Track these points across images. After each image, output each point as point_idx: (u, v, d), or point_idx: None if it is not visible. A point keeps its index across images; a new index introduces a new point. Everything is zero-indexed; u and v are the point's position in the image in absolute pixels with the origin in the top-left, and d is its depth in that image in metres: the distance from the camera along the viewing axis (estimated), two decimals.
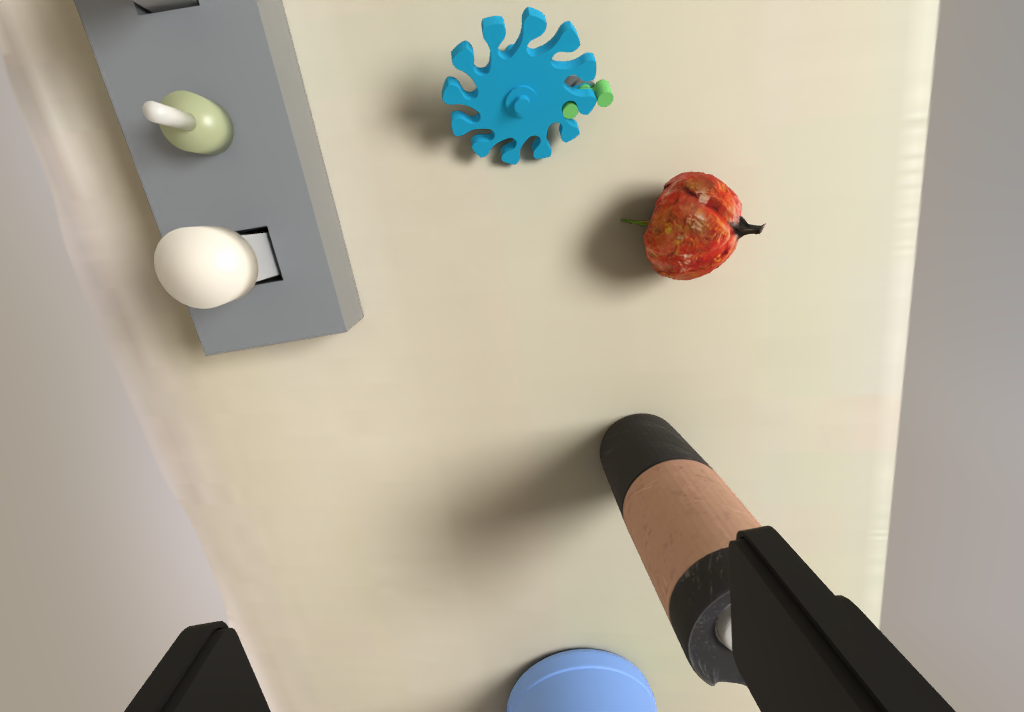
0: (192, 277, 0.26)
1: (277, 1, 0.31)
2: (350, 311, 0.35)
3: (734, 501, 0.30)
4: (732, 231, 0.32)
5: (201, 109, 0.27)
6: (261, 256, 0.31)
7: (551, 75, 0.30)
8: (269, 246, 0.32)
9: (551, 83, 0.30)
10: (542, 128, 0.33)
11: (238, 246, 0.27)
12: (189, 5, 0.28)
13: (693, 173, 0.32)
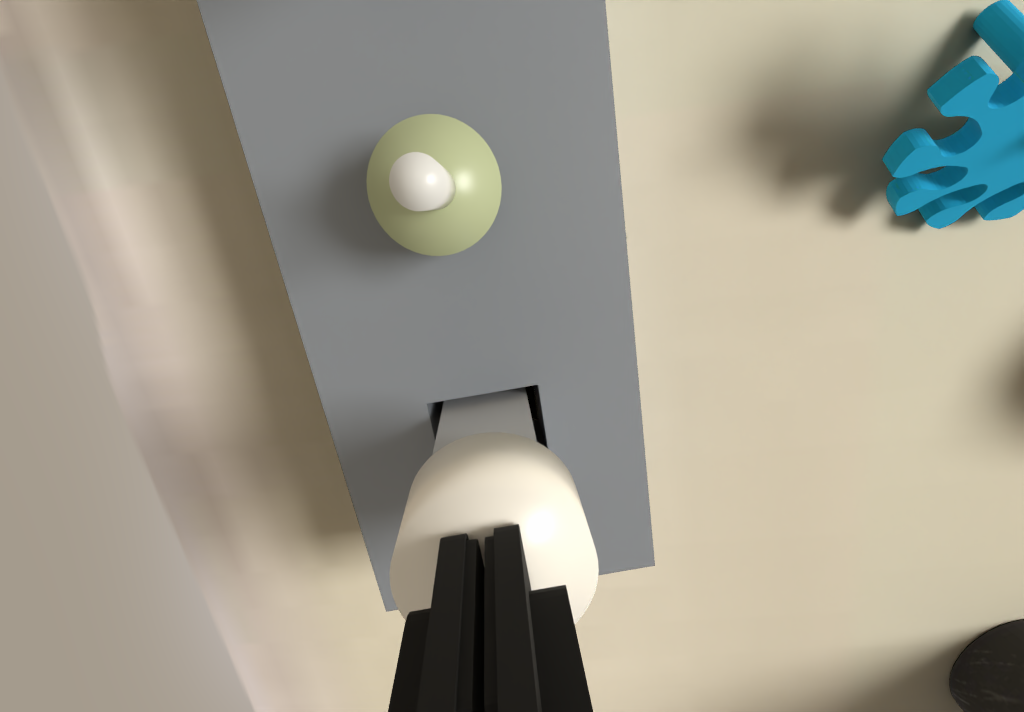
0: None
1: None
2: None
3: None
4: None
5: (471, 159, 0.11)
6: None
7: None
8: None
9: None
10: None
11: (578, 500, 0.11)
12: None
13: None
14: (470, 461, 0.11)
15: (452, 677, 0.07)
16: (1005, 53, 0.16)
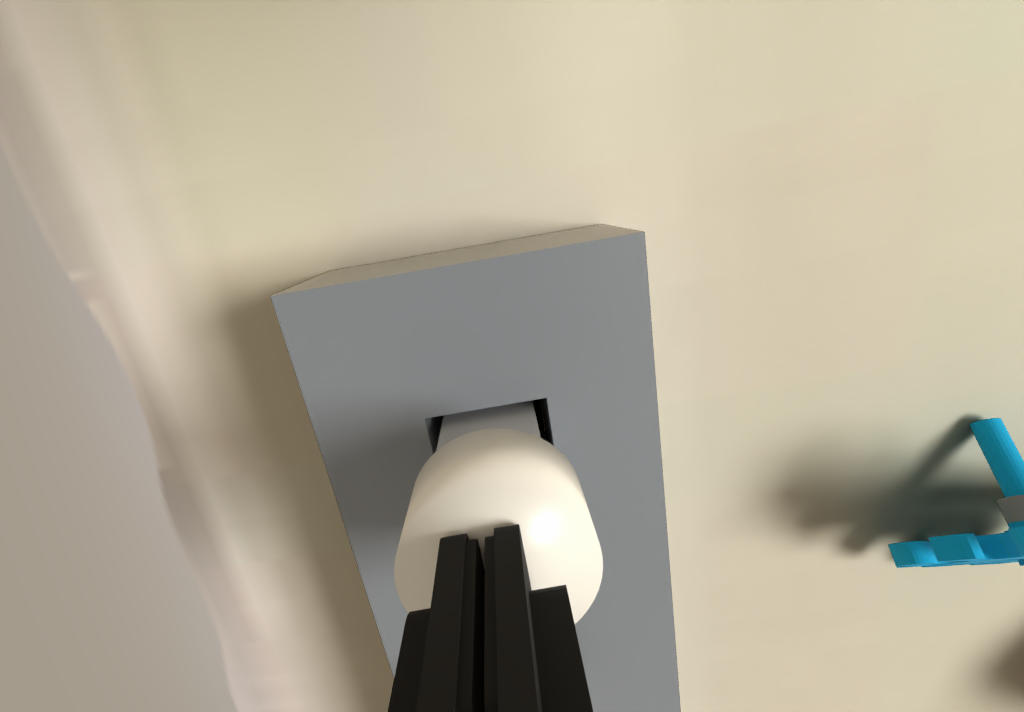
0: None
1: None
2: None
3: None
4: None
5: None
6: None
7: None
8: None
9: None
10: None
11: None
12: None
13: None
14: None
15: (452, 677, 0.07)
16: (994, 469, 0.20)
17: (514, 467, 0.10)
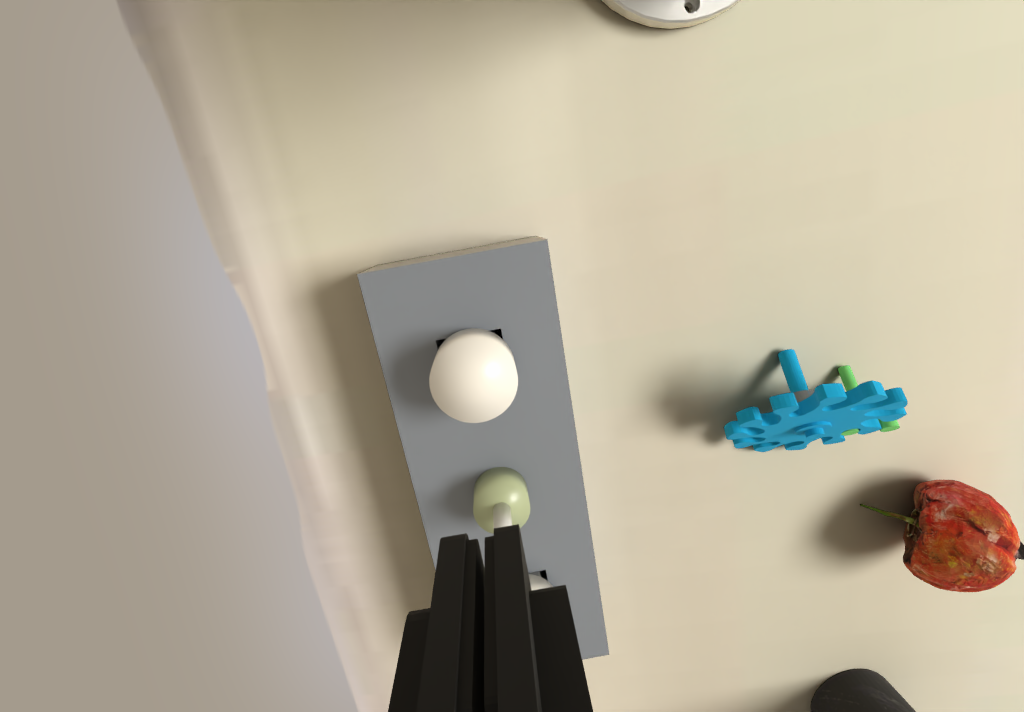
0: None
1: None
2: None
3: None
4: None
5: (517, 499, 0.27)
6: (540, 572, 0.33)
7: (857, 418, 0.29)
8: None
9: (851, 421, 0.29)
10: (813, 438, 0.32)
11: None
12: None
13: (969, 497, 0.32)
14: None
15: (452, 677, 0.07)
16: (787, 379, 0.32)
17: (479, 336, 0.24)
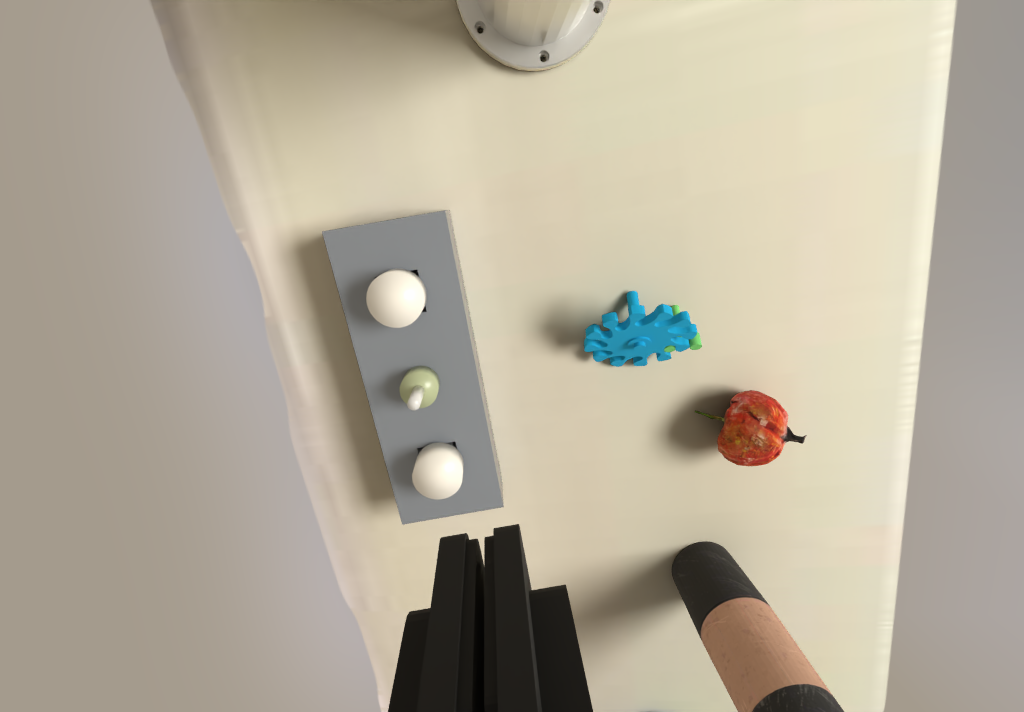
0: (433, 482, 0.42)
1: (463, 284, 0.44)
2: (501, 485, 0.48)
3: (787, 640, 0.43)
4: (782, 441, 0.45)
5: (429, 383, 0.41)
6: (456, 449, 0.47)
7: (665, 334, 0.42)
8: None
9: (663, 337, 0.43)
10: (646, 354, 0.46)
11: (459, 460, 0.43)
12: None
13: (754, 398, 0.46)
14: (431, 449, 0.43)
15: (452, 677, 0.07)
16: None
17: (398, 271, 0.38)
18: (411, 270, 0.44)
